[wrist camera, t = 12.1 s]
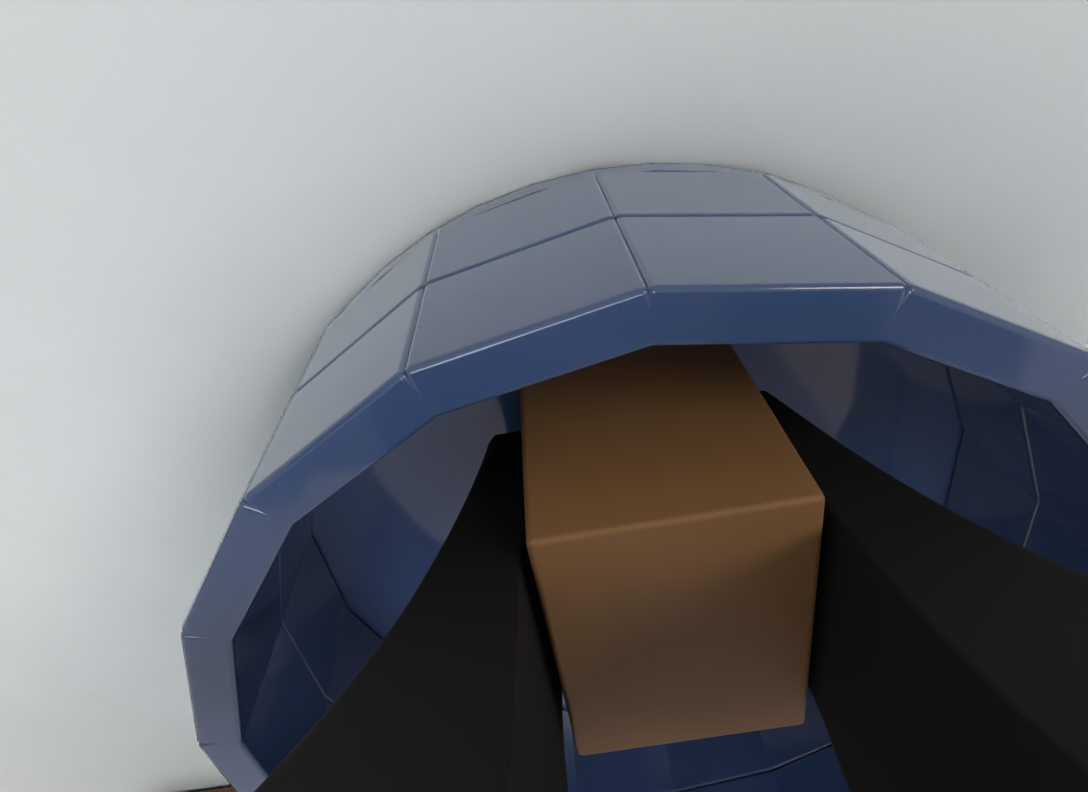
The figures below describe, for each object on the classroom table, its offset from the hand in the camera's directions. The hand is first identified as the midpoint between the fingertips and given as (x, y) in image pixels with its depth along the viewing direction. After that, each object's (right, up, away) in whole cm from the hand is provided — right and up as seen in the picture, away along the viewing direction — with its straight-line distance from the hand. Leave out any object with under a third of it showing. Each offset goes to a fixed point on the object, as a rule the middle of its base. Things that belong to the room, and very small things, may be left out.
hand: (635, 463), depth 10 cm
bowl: (0, -1, +3) cm, 3 cm away
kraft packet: (0, +1, +1) cm, 1 cm away
